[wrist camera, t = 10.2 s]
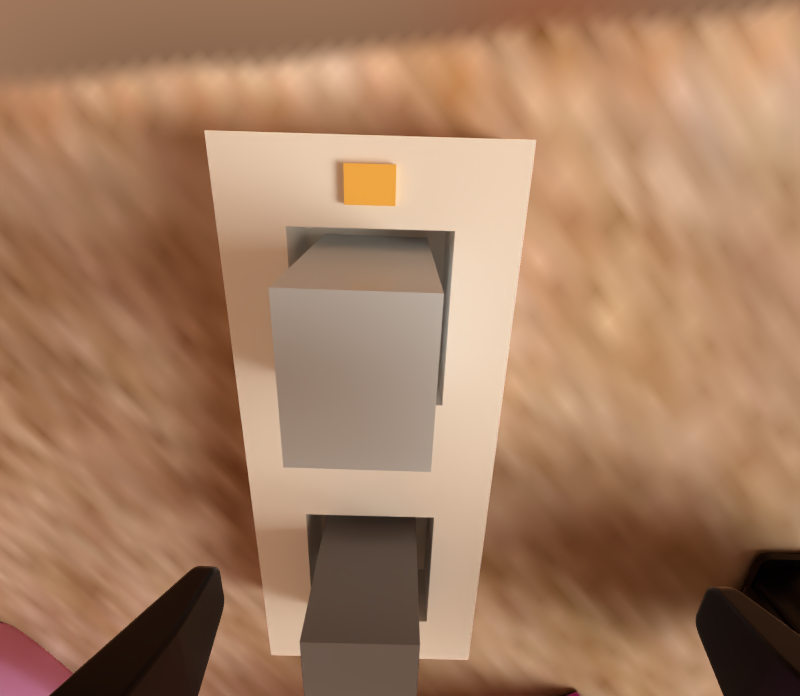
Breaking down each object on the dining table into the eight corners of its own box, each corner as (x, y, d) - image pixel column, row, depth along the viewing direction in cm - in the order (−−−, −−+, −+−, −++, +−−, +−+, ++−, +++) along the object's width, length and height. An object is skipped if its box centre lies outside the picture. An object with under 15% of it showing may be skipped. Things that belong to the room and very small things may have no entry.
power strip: (510, 143, 17) (538, 139, 13) (460, 597, 26) (468, 666, 23) (242, 136, 17) (200, 129, 13) (287, 593, 26) (269, 661, 22)
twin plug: (414, 484, 22) (420, 644, 15) (410, 558, 24) (414, 734, 17) (333, 482, 22) (299, 642, 15) (336, 557, 24) (307, 731, 17)
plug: (427, 237, 18) (444, 293, 10) (420, 354, 20) (430, 471, 12) (324, 233, 18) (268, 287, 10) (328, 351, 20) (283, 467, 12)
